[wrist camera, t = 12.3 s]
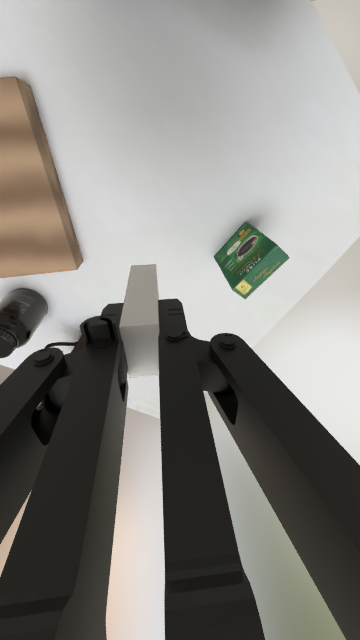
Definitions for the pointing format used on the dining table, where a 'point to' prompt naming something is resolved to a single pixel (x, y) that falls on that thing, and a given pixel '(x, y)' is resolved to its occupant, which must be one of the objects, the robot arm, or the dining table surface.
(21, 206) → the walnut board
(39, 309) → the supplement bottle
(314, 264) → the dining table surface
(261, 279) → the coffee box
